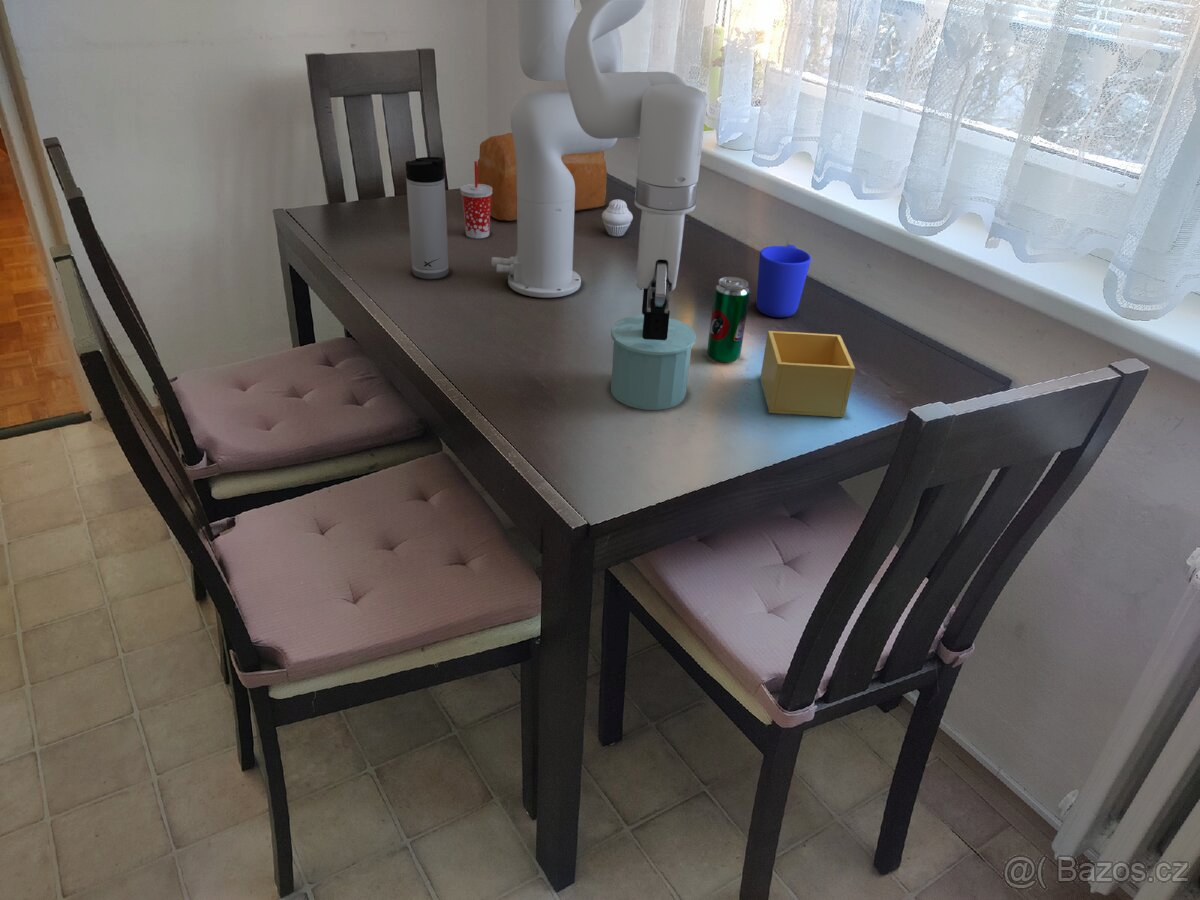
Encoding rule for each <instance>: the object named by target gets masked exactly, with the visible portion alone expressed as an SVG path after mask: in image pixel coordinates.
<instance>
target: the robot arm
mask: <svg viewBox="0 0 1200 900" xmlns="http://www.w3.org/2000/svg"><path fill="white" fill-rule="evenodd" d="M646 2H647V0H579V3H580V6H581V9H580V11H579V12H577V11H576V7H575V0H516V9H517V10H516V13H517V14H516V15H517V43H518V44H517V46H518V58H519V64H520V68H521V70H522V73H523V74H524V75H525V77H527V78H528V79H530V80H533V81H539V82H566V85H567V89H553V90H552V89H548V90H537V91H532V92H528V93H525V94H523V95H521V96H519V97H518V98H517V99H516V100H515V101H514V103H513V105H512V106H511V110H510V129H511V133H512V135H513V141H514V148H515V156H516V170H517V220H516V252H515V256H509V258H508V257H507V258H504V257H498V256H492V257H491V261H490V263H491V265H490V266H491V269H496V273H498V274H508V276H507V283H508V286H509V288H510V289H511V290H513V291H514V292H516V293H518V294H521V295H524V296H529V297H532V298H542V299H543V298H544V299H545V298H546V299H551V298H560V297H565V296H569V295H572V294H573V293H575V292H577V291H578V290H579V289H580V288H581V285H582V278H581V276H580V275H579V273H578V272H576V271H574V270H573V265H574V264H573V263H574V239H575V237H574V235H575V232H574V231H575V211H574V209H575V183H574V179H573V176H572V174H571V173H570V171H569V170H568V169H567V168H566V166H565V165H564V164H563V162H562V160H561V157H562V156H563V155H568V154H577V153H592V152H601V151H604V152H605V151H608V150H610V149H612V148H613V147H614V146H615V145H616V143H617V142H618V139H627V138H628V139H629V138H638V139H639V140H638V151H637V152H638V153H637V163H636V164H637V165H636V178H635V193H634V206H635V207H636V208H637V209H639V210H641V216H640V223H639V234H638V236H639V237H638V247H637V261H636V286H637V287H636V288H637V289H638V290H641V291H642V290H643V292H642V293H643V294H642V305H641V313H642V314H641V315H644V322H643V334H642V336H643V339H649V340H666V339H667V335H668V324H669V318H670V313H671V311H670V310H669V308H670V294H671V292H673V291H674V290H676V286H677V280H678V275H679V268H680V261H681V256H682V255H681V254H682V246H683V236H684V228H685V220H686V219H685V217H686V214H688V213H691V212H693V211H695V209H696V204H697V196H698V195H697V194H698V186H699V185H698V184H699V176H700V175H699V174H700V169H701V167H700V165H701V157H702V148H703V140H704V139H703V138H704V131H705V130H704V129H705V123H706V122H705V121H706V114H707V113H706V112H707V99H706V96H705V93H704V92H702V90H701V89H699V88H697V87H695V86H692V85H687V84H686V83H685V81H684V80H683V79H682V78H681V77H680V76H679V75H677V74H675V73H672V72H670V71H623V42H622V36H621V33H620V30H619V28H620V27H621V26H623V25H625V24H626V23H628V22H629V21H631V20H632V19H634V18H635V17H636V16H637V15H638V14H639V13H640V12H641V11H642V9H643V8H644V6H645V5H646ZM646 308H647V309H646Z"/></svg>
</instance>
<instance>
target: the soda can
mask: <svg viewBox="0 0 1200 900" xmlns="http://www.w3.org/2000/svg"><path fill="white" fill-rule="evenodd" d="M750 295H751V290H750V287H749V282H748V281H747V280H745V279H744V278H742V277H736V276H723V277H721V278H719V279H718V281H717V284H715V287H714V292H713V299H712V308H711V316H710V323H709V331H708V340H707V347H706V354H707V356H708V357H709V358H710V359H711V360H712V361H714V362H716V363H719V364H720V363H721V364H732V363H734V362H736V361H737V360H739V359H740V358H741V356H742V355H741V354H742V349H743V341H744V335H745V328H746V327H745V326H746V321H747V315H748V308H749V301H750Z"/></svg>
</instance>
